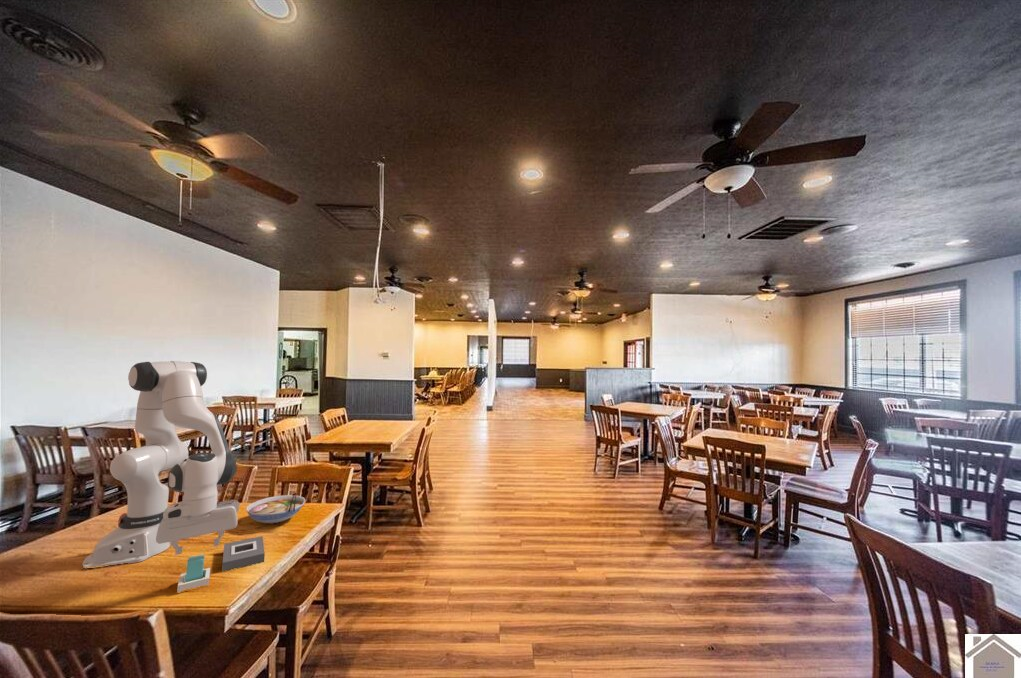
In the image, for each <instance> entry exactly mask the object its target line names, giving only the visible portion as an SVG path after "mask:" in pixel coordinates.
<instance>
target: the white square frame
mask: <svg viewBox="0 0 1021 678" xmlns="http://www.w3.org/2000/svg"><path fill="white" fill-rule="evenodd" d="M210 575H211V567H207V568H203V577H205V578H202V579H197V580H193V581H189V582H186V572H185V573H184V572H183V573H181V574H180V576H179V580H178V584H177V591H176V594H177V593H178V592H181V591H183V590H186V589H191V588H196V587H200V586H205V585H208V586H209V584H210ZM184 582H185V583H184Z"/></svg>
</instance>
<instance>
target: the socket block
mask: <svg viewBox="0 0 1021 678" xmlns="http://www.w3.org/2000/svg"><path fill="white" fill-rule="evenodd" d="M263 537H264V536H263V535H261V536H256V537H255V536H254V537H251V538H246V539H240V540H236V541H232V542H231V541H230V542H227V543H224V544H223V556H222V567H221V569H222V570H221V572H222V571H224V572H226V571H225V570H228V571H231V569H233V570H235V569H234V568H237V569H240V568H239V567H241V568H245V567H249V566H253V565H252V564H254V565H256V563H258V564H262V563H265V554H266V553H265V552H266V551H265V546H264V538H263ZM261 562H262V563H261ZM248 565H249V566H248ZM244 566H245V567H244Z"/></svg>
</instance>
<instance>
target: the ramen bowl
mask: <svg viewBox="0 0 1021 678" xmlns="http://www.w3.org/2000/svg"><path fill="white" fill-rule="evenodd" d="M305 503H306V499H305V497H303V496H300V495H297V493H296V492H294V493H293V494H289V495H286V494H285V495H283V494H282V495H275V496H269V497H265V498H261V499H258V500H256V501H254V502H251V503H249V505H247V506H246V507H245V508H246V512H247V514H248V516H250V518H251V519H252V520H253V521H256V522H258V523H263V524H268V523H269V524H270V525H275V524H274V523H276V524H279V522H280V523H282V522H284V521H287V520H289V519H291V518H293V517H294V516H295V515H297V513H298V512H299V511H300V510H301V509H302V508H303V506H304V504H305Z"/></svg>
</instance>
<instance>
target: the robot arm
mask: <svg viewBox="0 0 1021 678" xmlns="http://www.w3.org/2000/svg"><path fill="white" fill-rule="evenodd" d="M127 375H128V376H127V377H128V378H127V381H128V385H129V387H131V388H132V389H133V390H135V391H139V395H138V398H137V404H136V405H137V406H136V410H135V411H136V414H135V421H134V422H135V424H134V429H135V431H136V432H137V433H139V434H141V435H143V436H144V439H145V445H144V446H143V445H142V446H139V447H135V448H131V449H129V450H126V451H123V452H122V453H120V454H118V455H116V456H115V457H114V458H113V459H112V460H111V462H110V465H109V472H110V474H111V476H112V477H113V478H114V479H115V480H118V481H120V482H121V483H122V484H123V485H124V487H125V490H126V494H127V507H126V509H127V510H126V512H123V513H121V515H120V516H119V518H118V522H117V527H116V528H115V529H113V530H112V531H110V532H109V533H108V534H107V535H105V536H104V537H102V538H101V539H100V540H99V541H98V542H97V544H96V545H95V547H94V549H93V551H92V553H90V554H89V555H88V556H86V557H85V559H84V560H83V561H82V564H81V566H82V565H83V567H86V568H87V567H96V566H105V565H115V564H121V565H124V564H123V563H128V564H133V563H134V564H135V563H140V562H143V561H146V560H147V559H148V558H150V557H153V556H155V555H159V554H160V553H162V552H164V551H166V550H167V549H168V548H170V546H171V547H172V548H173V549H174V550H175V553H174V554H175V555H181V554H182V553H183V545H180V546H179V544H178V542H179V541H180V540H184V539H185V540H186V539H190V538H195V537H199V536H204V535H210V534H213V533H218V537H217V538H214V539H213V547H216V546H220V543H221V539H222V537H223V536H224V535H225V531H229V530H234V529H235V528H236V527H237V526H238V511H240V502H239V501H238V500H235V499H229V500H221V501H218V497H219V495H218V494H219V491H218V487H217V486H219V485H225V484H228V483H229V482H230V481H231V480H232V479H233V478H234V477H235V475H236V474H237V471H238V465H237V462H236V459H235V458H234V456H233V454H232V452H231V449H230V447H229V446H230V445H229V443H228V441H227V437H226V434H225V432H224V429H223V427H222V424H221V421H220V419H219V417H218V415H217V413H215V412H212V411H210V410H209V408H208V407H207V406H206V404H205V401H204V395H203V391H202V386H204V385H205V383H206V381H207V379H208V372H207V368H206V367H205V365H204V364H203V363H200V362H195V361H190V362H189V361H180V360H179V361H178V360H169V361H151V362H150V361H143V362H137V363H135V364H134V365H132V367H131V368H130V370H129V372H128V374H127ZM176 427H179V428H182V429H189V430H195V431H198V432H201V433H203V434H204V435H205V436H206V438H207V440H208V443H209V446H210V449H211V452H207V451H206V452H205V451H203V452H197V453H193V454H190V455H189V454H188V453H189V449H188V446H187V445H186V443H185V442H183V441H181V440H180V438H179V436H178V433H177V429H176ZM188 455H189V456H188ZM167 470H169V471H168V475H167V485H166V484H165V483H162V482H161V480H160V477H159V475H160V473H161V472H164V471H167ZM170 490H172V491H174V492H177V493H181V492H183V493H184V494H183V496H182V501H179V502H177V503H174V504H172V505H169V494H170V493H169V492H170ZM85 564H87V565H85ZM115 566H116V565H115Z"/></svg>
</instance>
